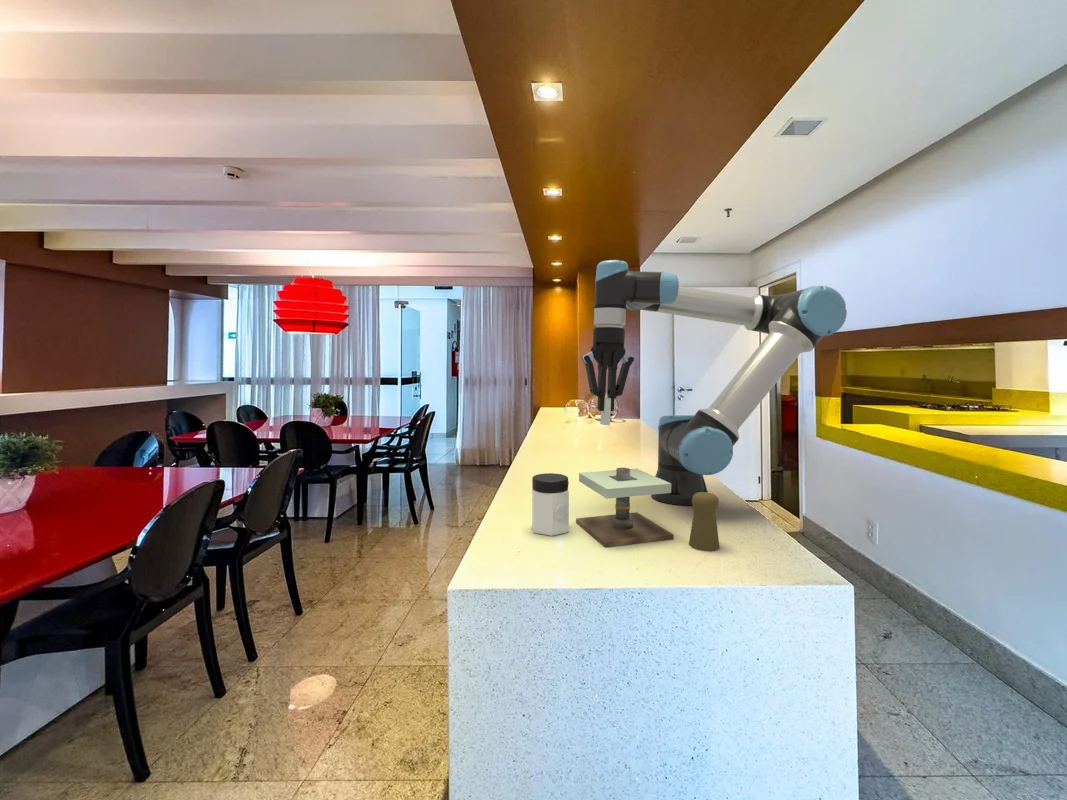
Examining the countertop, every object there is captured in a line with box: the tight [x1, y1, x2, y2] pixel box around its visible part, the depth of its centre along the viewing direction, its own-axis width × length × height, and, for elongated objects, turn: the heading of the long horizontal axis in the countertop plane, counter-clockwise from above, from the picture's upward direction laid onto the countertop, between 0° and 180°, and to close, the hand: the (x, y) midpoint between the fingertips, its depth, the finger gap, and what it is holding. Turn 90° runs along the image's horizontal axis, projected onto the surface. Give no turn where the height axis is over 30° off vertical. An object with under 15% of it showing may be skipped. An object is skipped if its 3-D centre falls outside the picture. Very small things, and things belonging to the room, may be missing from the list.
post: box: [575, 467, 674, 548], centre depth 110 cm, size 16×16×14 cm
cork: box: [688, 491, 720, 552], centre depth 101 cm, size 6×6×11 cm
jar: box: [531, 472, 570, 537], centre depth 111 cm, size 9×8×12 cm
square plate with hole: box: [578, 468, 671, 500], centre depth 110 cm, size 15×15×2 cm
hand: (605, 424), depth 121 cm, fingers closed
